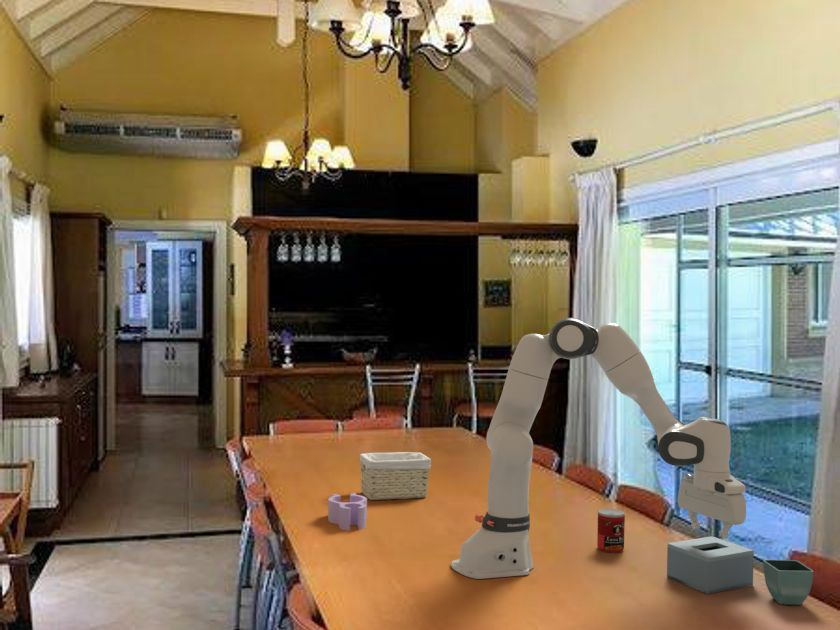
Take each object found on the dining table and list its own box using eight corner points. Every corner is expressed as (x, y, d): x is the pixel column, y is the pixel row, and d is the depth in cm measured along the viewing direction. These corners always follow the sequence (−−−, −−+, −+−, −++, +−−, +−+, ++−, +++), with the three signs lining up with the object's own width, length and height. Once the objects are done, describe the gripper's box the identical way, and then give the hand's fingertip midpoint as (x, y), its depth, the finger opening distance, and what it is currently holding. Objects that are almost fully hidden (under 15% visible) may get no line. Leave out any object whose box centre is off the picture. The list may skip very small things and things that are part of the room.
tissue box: (707, 594, 210) (708, 558, 210) (666, 577, 223) (667, 543, 222) (752, 585, 217) (753, 550, 217) (711, 569, 230) (711, 536, 230)
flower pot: (796, 595, 210) (797, 559, 210) (813, 608, 202) (814, 571, 201) (761, 595, 210) (762, 559, 210) (777, 608, 201) (778, 570, 201)
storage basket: (419, 489, 321) (420, 450, 321) (432, 499, 306) (432, 458, 305) (357, 492, 314) (358, 452, 314) (367, 502, 299) (368, 460, 298)
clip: (374, 529, 265) (374, 507, 264) (334, 531, 261) (334, 509, 261) (362, 513, 284) (362, 492, 284) (325, 515, 281) (325, 494, 281)
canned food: (605, 554, 242) (606, 515, 242) (592, 546, 250) (593, 509, 250) (629, 552, 244) (630, 514, 244) (615, 544, 252) (616, 507, 252)
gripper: (673, 473, 227) (671, 524, 228) (733, 489, 209) (730, 545, 209) (690, 471, 230) (688, 522, 230) (751, 487, 212) (748, 542, 212)
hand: (709, 533), depth 220 cm, fingers open, 8 cm apart
